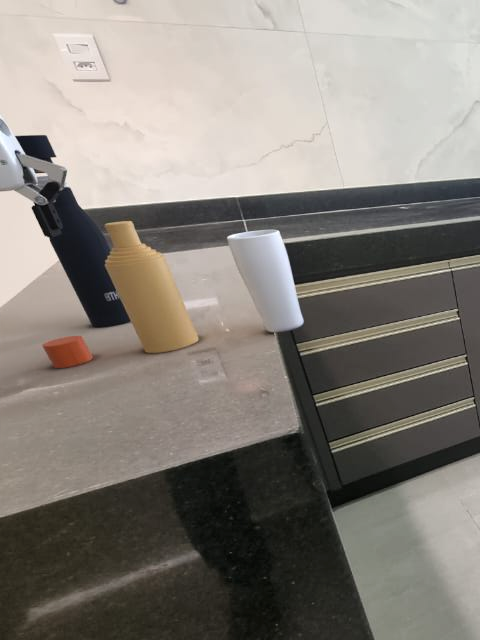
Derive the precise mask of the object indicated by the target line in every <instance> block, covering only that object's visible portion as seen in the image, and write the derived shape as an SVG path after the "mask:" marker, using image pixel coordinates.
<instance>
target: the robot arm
mask: <svg viewBox="0 0 480 640" xmlns="http://www.w3.org/2000/svg"><path fill="white" fill-rule="evenodd" d="M15 136H16V135H15V134H14V132H13V131H12V129H11V128H10V126H9V124H8V123H7V122H6V120H5V119H4V117H3V116H2V115H1V114H0V192H10V191H11V192H12V191H14V192H16V193H18V194H19V195H21V196H22V197H24V198H26V199H27V200H30V201H31V202H33V205H32V206H31V211H32V213H33V214H34V217H35V219H36V221H37V223H38V225H39V227H40V229H41V232H42V234H43V236H44V237H46V238H49V237H54V236H57V235H60V234H61V230H60V229H62V228H63V225H62V222H61V220H60V218H59V216H58V214H57V211H56V209H55V207H54V205H53V203H54V202H55V201H56V198H57V197H58V196H59V194H60V193H61V192H62V191H63V189H64V183H66V179H67V174H68V169H67V168H66V167H65V166H62V165H59V164H56V163H54V162H53V163H50V162H47V161H44V160H40V159H37V158H34V157H31V156H27V155H26V154H25V153H24V151H23V149H22V148H21V146H20V144H19V142H18V141H17V139H16V137H15ZM34 169H36V170H39V171H43V172H45V173H44V174H46V176H48V183H47V184H46V185H45V186H44V187H43V189H42V188H40V187H39V186H37V185H38V184H37V183H38V180H37V177H38V175H37V173H35V172H34Z"/></svg>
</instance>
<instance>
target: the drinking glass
mask: <svg viewBox="0 0 480 640" xmlns="http://www.w3.org/2000/svg"><path fill="white" fill-rule="evenodd" d="M226 241H227V243H228V247H229V250H230V253H231V256H232V258H233V261H234V264H235V266H236V268H237V270H238V272H239V274H240V277H241V279H242V280H243V281H242V282H243V283H244V285H245V288H246V289H247V292H248V294H249V295H250V298H251V300H252V302H253V304H254V306H255V308H256V310H257V312H258V315H259V317H260V319H261V322H262V324H263V327H264V329H265V330H266V332H269V333H271V334H272V333H273V334H277V333H279V334H280V333H286V332H290V331H294V330H296V329H298V328H301V327H302V326H303V325H304V324H305V323H304V322H305V320H304V317H303V313H302V311H301V307H300V302H299V299H298V294H297V290H296V285H295V281H294V276H293V272H292V267H291V263H290V257H289V255H288V251H287V248H286V245H285V242H284V240H283V237H282V235H281V232H280V230H278V229H260V230H259V229H258V230H252V231H245V232H239V233H234V234H230V235H228V236H227V237H226Z"/></svg>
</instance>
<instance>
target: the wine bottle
mask: <svg viewBox="0 0 480 640" xmlns="http://www.w3.org/2000/svg"><path fill="white" fill-rule="evenodd" d="M14 136H15V137H16V139H17V141H18V142H19V144H20V146H21V148H22V149H23V151H24V153H25V154H26V155H27V156H31V157H34V158H37V159H40V160H44V161H47V162H50V163H53V164H54V161H53V160H52V158H57V155H56V153H55V150H54V148H53V146H52V144H51V142H50V140H49V138H48V135H46V134H35V135H34V134H29V135H28V134H26V135H25V134H24V135H14ZM34 172H35V174H46V173H45V172H43V171H39V170H36V169H34ZM37 180H38V183H37V184H36V185H37V186H38V187H40V188H42V189H43V187H44V186H45V185H46V184H47V183H48V175H43V176H41V175H40V176H37ZM53 205H54V207H55V209H56V211H57V214H58V216H59V218H60V220H61V222H62V225H63V228H62V229H60V230H61V234H60V235H57V236H54V237H48V238H49V242H50V245H51V247H52V248H53V250H54V253H55V254H56V257H57V258H58V260H59V263H60V265H61V266H62V268H63V270H64V272H65V274H66V276H67V279H68V281H69V282H70V284H71V286H72V288H73V291H74V292H75V294H76V296H77V298H78V300H79V302H80V304H81V307H82V308H83V310H84V313H85V314H86V316H87V319H88V320H89V322H90V324H91V326H92V327H94V328H104V327H105V328H106V327H113V326H118V325H122V324H126V323H131V320H130V318H129V316H128V314H127V312H126V310H125V308H124V305H123V303H122V301H121V299H120V297H119V295H118V293H117V291H116V288H115V286H114V284H113V282H112V280H111V278H110V276H109V273H108V271H107V269H106V267H105V264H106V263H105V260H107V259H108V258H107V256H109V255H110V252H111V251H112V250H111V248H110V245H109V243H108V240H107V239H106V237H105V234H104V233H103V232H102V231H101V229H100V228H99V226H98V225H97V223H96V222H95V221H94V220H93V218H92V217H91V216H90V215H89V214H88V213H87V212H86V211H85V210H84V208H82V207H81V206H80V205H79V203H78V201H77V199H76V196H75V195H74V192H73V189H72V188H71V187H70V186H67V182H65V183H64V189H63V191H62V192H61V193H60V194H59V196H58V197H57V198H56V201H55V202H54V203H53Z"/></svg>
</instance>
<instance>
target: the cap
mask: <svg viewBox="0 0 480 640" xmlns="http://www.w3.org/2000/svg"><path fill="white" fill-rule="evenodd" d="M41 346H42V348H43V349H44V351H45V353H46V355H47V357H48V359H49V361H50V363H51V364H52V366H53V368H54V369H64V368H70V367H75V366H79V365H82V364H86V363H88V362H90V361H91V360H93V359H94V358H93V355H92V353H91V351H90V349H89V348H88V345H87V344H86V341H85V340H84V338H83V336H82V335H70V336H64V337H59V338H55V339H52V340H49V341H47V342H44V343H43V344H42V345H41Z"/></svg>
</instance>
